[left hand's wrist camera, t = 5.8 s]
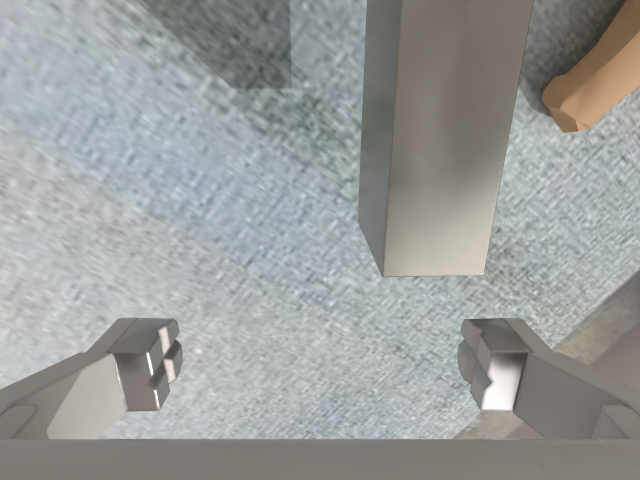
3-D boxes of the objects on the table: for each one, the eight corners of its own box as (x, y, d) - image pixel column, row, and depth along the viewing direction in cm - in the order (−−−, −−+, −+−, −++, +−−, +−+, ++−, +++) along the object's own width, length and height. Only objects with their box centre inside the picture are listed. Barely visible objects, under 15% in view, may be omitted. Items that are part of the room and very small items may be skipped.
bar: (428, 221, 28) (484, 275, 19) (357, 222, 28) (381, 277, 19) (475, -189, 20) (610, -418, 11) (374, -193, 20) (431, -429, 11)
